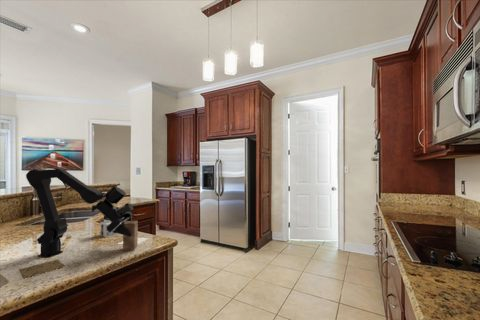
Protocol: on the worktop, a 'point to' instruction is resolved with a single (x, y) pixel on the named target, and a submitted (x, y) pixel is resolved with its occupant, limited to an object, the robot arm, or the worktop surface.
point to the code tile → (137, 241)
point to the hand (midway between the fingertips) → (133, 233)
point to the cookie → (41, 268)
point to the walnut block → (131, 241)
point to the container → (104, 228)
